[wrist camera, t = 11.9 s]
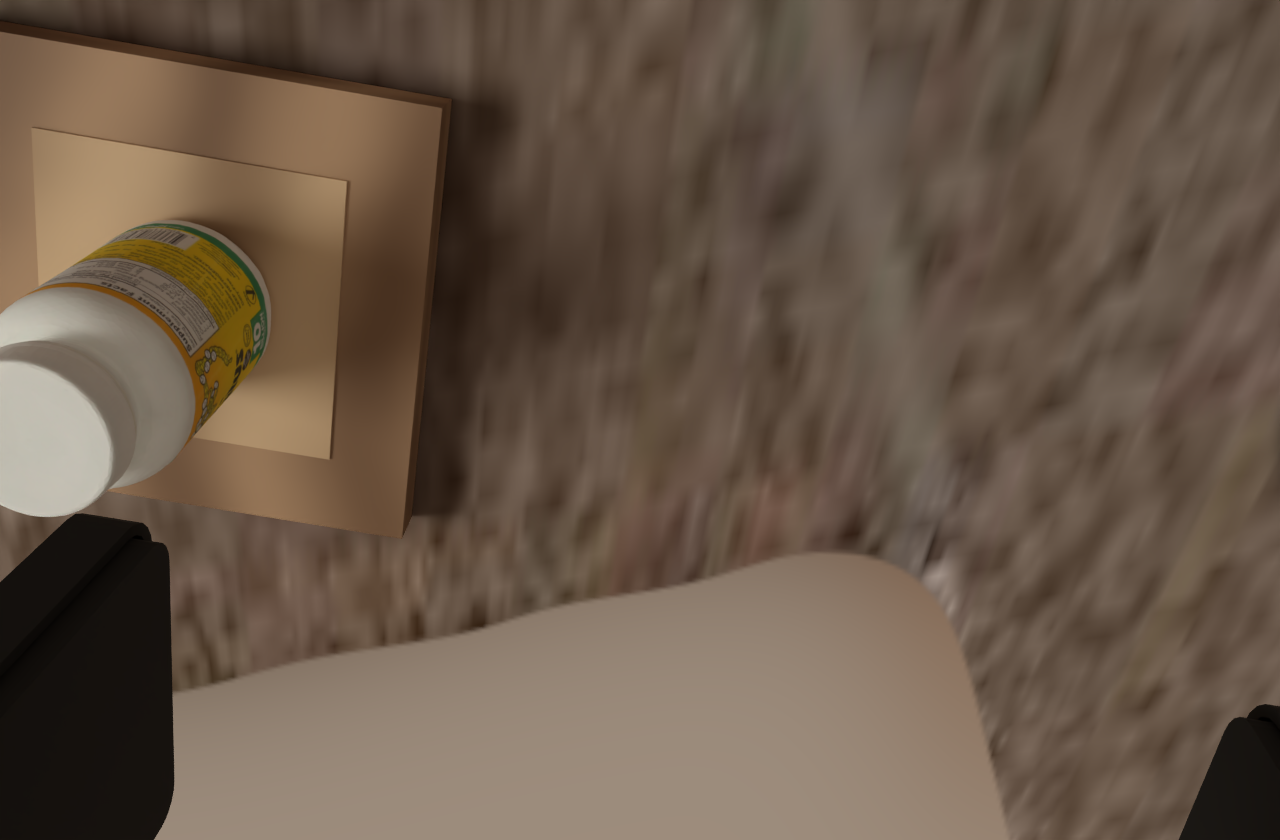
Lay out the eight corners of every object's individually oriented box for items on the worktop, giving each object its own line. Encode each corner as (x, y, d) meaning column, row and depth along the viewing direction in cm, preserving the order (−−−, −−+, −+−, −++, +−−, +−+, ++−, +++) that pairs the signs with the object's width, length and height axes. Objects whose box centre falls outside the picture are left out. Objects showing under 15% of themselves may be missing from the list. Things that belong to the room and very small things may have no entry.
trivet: (451, 99, 35) (441, 108, 34) (411, 516, 41) (401, 540, 39) (-33, 15, 35) (-65, 21, 33) (-5, 449, 40) (-30, 469, 39)
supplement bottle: (175, 178, 35) (1, 280, 26) (314, 311, 36) (194, 450, 27) (63, 296, 36) (-137, 430, 28) (200, 419, 38) (52, 583, 29)
